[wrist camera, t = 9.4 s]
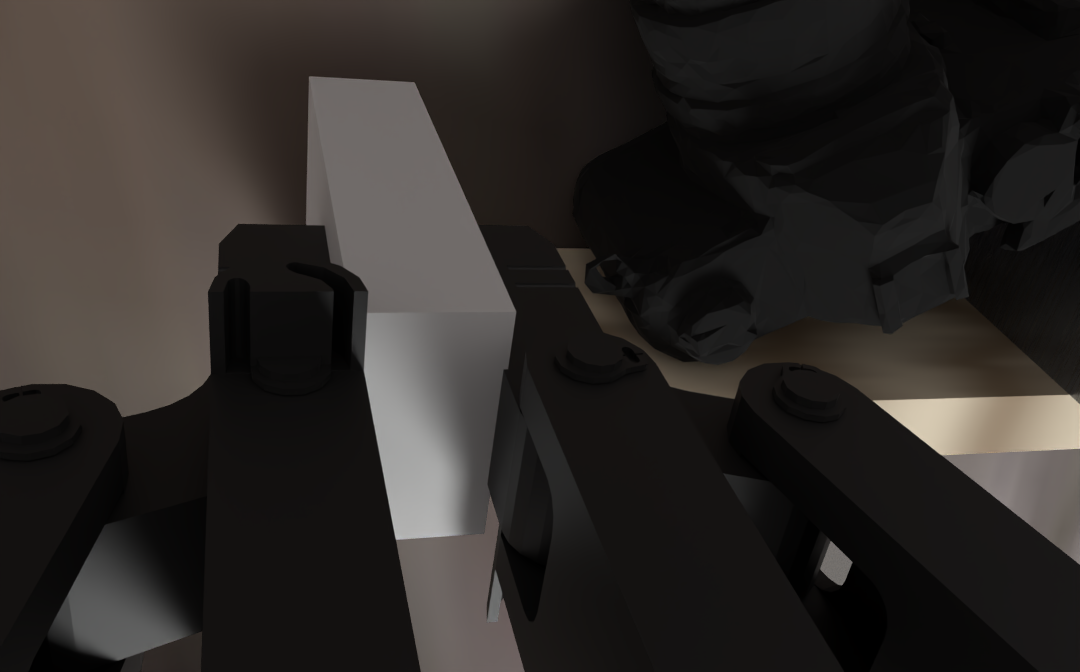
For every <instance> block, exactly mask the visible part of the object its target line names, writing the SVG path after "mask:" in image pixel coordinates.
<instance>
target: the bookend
mask: <svg viewBox="0 0 1080 672" xmlns="http://www.w3.org/2000/svg"><path fill="white" fill-rule="evenodd" d="M1007 225H1008V223H1001V224H999V225H997V226H995V227H993V228H991V229H989V230H987V231H983V232H979V233H975V234H973V235H972V236H971V237H970V238H969V246H970V250H969V253H968V256H967V259H966V262H965V265H964V270H965V275H966V281H967V287H968V293H969V297H967V298H965V299H966V300H967V301H968V302H969V303H970V304H971V305H973V306H974V307H975V308H976V309H977V310H978V311H979V312H980V313H981V314H982V315H983V316H984V317H986V318H987V319H988V320H989V321H990V322H991V323H992V324H993V325H994V326H995V327H996V328H997V329H999V330H1000V331H1001V332H1002V333H1003V334H1004V335H1005V336H1006V337H1007V338H1008V339H1009V340H1011V341H1012V342H1013V343H1014V344H1015V345H1016V346H1017V347H1018V348H1019V349H1020V350H1021V351H1022V352H1024V353H1025V354H1026V355H1027V356H1028V357H1029V358H1030V359H1031V360H1032V361H1033V362H1034V363H1036V364H1037V365H1038V366H1039V367H1040V368H1041V369H1042V370H1043V371H1044V372H1045V373H1046V374H1047V375H1049V376H1050V377H1051V378H1052V379H1053V380H1054V381H1055V382H1056V383H1057V384H1058V385H1059V386H1060V387H1062V388H1063V389H1064V390H1065V391H1066V392H1067V393H1068V394H1069V395H1070V396H1071V397H1072V398H1074V399H1075V400H1076V401H1077V402H1078V403H1079V404H1080V220H1079V221H1078V222H1076V223H1074V224H1072V225H1071V226H1069V227H1067V228H1065V229H1063V230H1061V231H1059V232H1058V233H1056V234H1054V235H1052V236H1050V237H1048V238H1047V239H1045V240H1043V241H1041V242H1039V243H1037V244H1035V245H1033V246H1031V247H1028V248H1026V249H1024V250H1021V251H1011V250H1004V249H1002V248H999V247H1000V244H1001V241H1002V237H1003V235H1004V232H1005V230H1006V227H1007Z"/></svg>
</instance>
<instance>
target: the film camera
mask: <svg viewBox="0 0 1080 672" xmlns="http://www.w3.org/2000/svg"><path fill="white" fill-rule="evenodd" d="M630 4H631V11H632V14H633V17H634V19H635V22H636V24H637V27H638V30H639V32H640V35H641V37H642V40H643V42H644V44H645V46H646V48H647V50H648V52H649V55H650V58H651V61H652V63H653V71H652V77H653V81H654V84H655V88H656V91H657V93H658V95H659V97H660V99H661V101H662V103H663V105H664V107H665V108H666V110H667V120H668V122H666V123H665V124H663V125H661V126H659V127H657V128H655V129H653V130H651V131H649V132H647V133H645V134H643V135H642V136H640V137H638V138H636V139H634V140H632V141H630V142H628V143H626V144H624V145H622V146H620V147H617V148H615V149H613V150H611V151H608V152H606V153H604V154H602V155H600V156H598V157H597V158H595V159H594V160H592V161H591V162H590V163H588V164H587V165H585V166H584V168H583V169H582V171H581V173H580V175H579V177H578V179H577V182H576V187H575V192H574V198H573V205H574V208H573V216H574V218H575V221H576V223H577V225H578V227H579V230H580V232H581V234H582V236H583V238H584V239H585V241H586V243H587V245H588V246H589V248H590V250H591V251H592V253H593V254H594V256H595V257H596V259H595V260H593V261H591V262H589V263H587V264H586V270H585V282H584V283H585V285H586V286H587V287H588V288H589V289H590V291H591V292H592V293H596V294H606V295H615V296H616V297H617V299H618V301H619V302H620V304H621V305H622V307H623V309H624V311H625V313H626V315H627V317H628V319H629V321H630V322H631V324H632V325H633V327H634V328H635V329H636V331H637V332H638V334H639V335H640V336H641V337H642V338H643V339H644V340H645V341H646V342H647V343H648V344H650V345H651V346H652V347H653V348H654V349H656V350H658V351H660V352H662V353H664V354H666V355H669V356H671V357H673V358H675V359H678V360H680V361H682V362H698V361H699V362H702V363H707V364H714V365H720V364H724V363H728V362H731V361H734V360H735V359H736V358H738V357H739V356H740V355H742V354H743V353H744V352H745V351H746V350H747V349H748V347H749V346H750V345H751V343H752V342H753V340H755V339H757V338H759V337H762V336H764V335H766V334H768V333H770V332H773V331H775V330H778V329H780V328H782V327H785V326H787V325H789V324H792V323H794V322H796V321H798V320H801V319H803V318H805V317H808V316H809V317H812V318H815V319H818V320H821V321H827V322H833V323H857V324H863V325H872V326H882V331H883V333H886V334H893V333H894V332H895V331H896V330H898V329H899V328H900V327H902V326H903V325H902V323H904V322H906V321H908V320H910V319H911V318H913V317H915V316H918V315H920V314H922V313H924V312H926V311H928V310H930V309H932V308H935V307H937V306H939V305H941V304H943V303H945V302H947V301H949V300H951V299H953V298H956V300H959V299H963V298H967V297H969V293H968V287H967V281H966V275H965V270H964V265H965V262H966V259H967V256H968V253H969V250H970V246H969V238H970V237H971V236H972V235H973V234H975V233H979V232H983V231H987V230H989V229H991V228H993V227H995V226H997V225H999V224H1001V223H1008V225H1007V227H1006V230H1005V232H1004V235H1003V237H1002V241H1001V244H1000V247H999V248H1002V249H1004V250H1011V251H1021V250H1024V249H1026V248H1028V247H1031V246H1033V245H1035V244H1037V243H1039V242H1041V241H1043V240H1045V239H1047V238H1048V237H1050V236H1052V235H1054V234H1056V233H1058V232H1059V231H1061V230H1063V229H1065V228H1067V227H1069V226H1071V225H1072V224H1074V223H1076V222H1078V221H1079V220H1080V0H630ZM599 265H600V267H601V269H602V271H603V273H604V275H605V277H603V276H602V275H601V274H600V273H599V271H598V270H597V267H598V266H599Z"/></svg>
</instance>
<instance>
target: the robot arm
mask: <svg viewBox="0 0 1080 672" xmlns="http://www.w3.org/2000/svg"><path fill="white" fill-rule="evenodd" d="M575 284H576V283H575V281H574V279H573V277H572V276H571V274H570V272H569V270H566V265H565V263H564V262H563V260H562V258H561V256H560V254H559V253H558V251H557V249H556V247H555V246H554V244H552V243H551V242H550V241H548V240H547V239H545V238H544V237H543V236H541V235H540V234H538V233H537V232H536V231H534V230H533V229H531V228H530V227H529V226H503V225H478V224H477V222H476V220H475V218H474V215H473V213H472V211H471V209H470V206H469V204H468V202H467V200H466V197H465V195H464V193H463V191H462V188H461V186H460V184H459V181H458V179H457V177H456V175H455V172H454V170H453V168H452V166H451V163H450V161H449V159H448V157H447V154H446V152H445V150H444V148H443V145H442V143H441V141H440V139H439V136H438V134H437V132H436V130H435V127H434V125H433V123H432V121H431V118H430V116H429V114H428V112H427V109H426V107H425V105H424V103H423V100H422V98H421V96H420V94H419V91H418V89H417V87H416V85H415V82H400V81H383V80H365V79H348V78H331V77H313V76H309V100H308V151H307V201H306V225H268V224H238V225H237V226H236V227H235V228H234V229H233V230H232V231H231V232H230V233H229V234H228V235H227V236H226V237H225V238H224V239H223V240H222V241H221V242H220V243H219V263H218V275H217V276H216V277H215V278H214V280H213V282H212V284H211V287H210V289H209V291H208V303H209V331H210V358H211V375H210V376H209V377H208V379H207V380H206V381H205V383H204V384H203V385H202V386H201V387H199V388H198V389H197V390H196V391H194V392H193V393H192V394H190V395H189V396H187V397H185V398H183V399H181V400H179V401H177V402H175V403H173V404H171V405H168V406H165V407H162V408H158V409H155V410H152V411H148V412H145V413H140V414H136V415H132V416H127V417H123V418H122V416H121V414H120V413H119V411H118V409H117V407H116V405H115V403H113V402H112V401H110V400H109V399H107V398H105V397H104V396H102V395H100V394H99V393H97V392H96V391H93V390H89V389H84V388H80V387H76V386H71V385H67V384H31V385H26V386H21V387H14V388H10V389H6V390H1V391H0V672H140V671H141V668H142V661H143V655H144V651H147V650H150V649H153V648H156V647H158V646H161V645H164V644H167V643H170V642H173V641H175V640H178V639H181V638H184V637H187V636H190V635H193V634H195V633H198V632H201V631H202V659H201V672H421V671H420V666H419V660H418V655H417V650H416V645H415V639H414V634H413V629H412V623H411V618H410V613H409V607H408V602H407V597H406V591H405V586H404V581H403V576H402V570H401V565H400V560H399V554H398V549H397V544H396V540H399V539H414V538H428V537H442V536H456V535H471V534H484V532H485V525H486V518H487V511H488V504H489V497H490V495H491V498H492V501H493V504H494V508H495V511H496V514H497V517H498V520H499V530H498V536H497V543H496V549H495V556H494V562H493V569H492V575H491V582H490V588H489V595H488V601H487V622H497V621H498V615H499V609H500V602H501V600H502V599H503V598H504V601H505V605H506V608H507V611H508V615H509V618H510V622H511V625H512V629H513V632H514V636H515V639H516V643H517V646H518V650H519V653H520V657H521V660H522V664H523V667H524V671H525V672H1080V565H1079V564H1078V563H1077V562H1076V561H1074V560H1073V559H1072V558H1071V557H1069V556H1068V555H1067V554H1065V553H1064V552H1063V551H1062V550H1060V549H1059V548H1058V547H1057V546H1055V545H1054V544H1053V543H1052V542H1050V541H1049V540H1048V539H1047V538H1045V537H1044V536H1043V535H1041V534H1040V533H1039V532H1038V531H1036V530H1035V529H1034V528H1033V527H1031V526H1030V525H1029V524H1028V523H1026V522H1025V521H1024V520H1022V519H1021V518H1020V517H1019V516H1017V515H1016V514H1015V513H1014V512H1012V511H1011V510H1010V509H1009V508H1007V507H1006V506H1005V505H1004V504H1002V503H1001V502H1000V501H998V500H997V499H996V498H995V497H993V496H992V495H991V494H990V493H988V492H987V491H986V490H985V489H983V488H982V487H981V486H980V485H978V484H977V483H976V482H974V481H973V480H972V479H971V478H969V477H968V476H967V475H966V474H964V473H963V472H962V471H961V470H959V469H958V468H957V467H956V466H954V465H953V464H952V463H950V462H949V461H948V460H947V459H945V458H944V457H943V456H942V455H940V454H939V453H938V452H937V451H935V450H934V449H933V448H932V447H930V446H929V445H928V444H926V443H925V442H924V441H923V440H921V439H920V438H919V437H918V436H916V435H915V434H914V433H913V432H911V431H910V430H909V429H908V428H906V427H905V426H904V425H902V424H901V423H900V422H899V421H897V420H896V419H895V418H894V417H892V416H891V415H890V414H889V413H887V412H886V411H885V410H884V409H882V408H881V407H880V406H878V405H877V404H876V403H875V402H873V401H872V400H871V399H870V398H868V397H867V396H866V395H865V394H863V393H862V392H861V391H860V390H858V389H857V388H855V387H854V386H852V385H850V384H849V383H847V382H846V381H844V380H842V379H841V378H839V377H837V376H836V375H833V374H830V373H828V372H825V371H822V370H820V369H819V368H817V367H815V366H811V365H806V364H802V365H800V364H799V363H791V362H782V363H764V364H761V365H759V366H756V367H754V368H751V369H749V370H747V372H746V373H745V375H744V376H743V377H742V379H741V380H740V382H739V386H738V389H737V393H736V396H735V399H732V398H726V397H720V396H714V395H708V394H703V393H697V392H691V391H686V390H682V389H678V388H673V387H670V386H669V384H668V382H667V381H666V379H665V377H664V376H663V374H662V372H661V371H660V369H659V367H658V366H657V364H656V363H655V362H654V361H653V360H652V359H651V358H650V356H649V355H648V354H647V353H646V352H645V351H644V350H643V349H641V348H639V347H637V346H636V345H634V344H632V343H630V342H629V341H627V340H625V339H623V338H620V337H617V336H613V335H610V334H607V333H604V332H603V331H602V329H601V327H600V325H599V324H598V322H597V320H596V318H595V316H594V315H593V313H592V311H591V309H590V308H589V306H588V304H587V302H586V301H585V299H584V297H583V295H582V293H581V292H580V290H579V288H578V287H575ZM830 541H832V542H833V543H834V544H835V545H836V546H837V547H838V548H839V549H840V550H841V551H842V552H843V553H844V554H845V555H846V556H847V557H848V558H849V559H850V560H851V561H852V562H853V563H852V565H851V568H850V570H849V573H848V575H847V578H846V580H845V582H844V584H843V585H842V586H841V585H837V584H836V583H834V582H833V581H832V580H830V579H829V578H828V577H827V576H826V575H825V574H824V573H823V572H822V571H821V570H820V567H821V565H822V562H823V559H824V557H825V554H826V551H827V549H828V546H829V544H830Z"/></svg>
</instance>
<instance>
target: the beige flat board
mask: <svg viewBox="0 0 1080 672" xmlns="http://www.w3.org/2000/svg"><path fill="white" fill-rule="evenodd" d="M556 249H557V251H558V253H559V254H560V256H561V258H562V260H563V262H564V263H565V265H566V270H569V272H570V274H571V276H572V277H573V279H574V281H575V283H576V284H575V287H578V288H579V290H580V292H581V293H582V295H583V297H584V299H585V301H586V302H587V304H588V306H589V308H590V309H591V311H592V313H593V315H594V316H595V318H596V320H597V322H598V324H599V325H600V327H601V329H602V331H603V332H604V333H607V334H610V335H613V336H617V337H620V338H623V339H625V340H627V341H629V342H630V343H632V344H634V345H636V346H637V347H639V348H641V349H643V350H644V351H645V352H646V353H647V354H648V355H649V356H650V358H651V359H652V360H653V361H654V362H655V363H656V364H657V366H658V367H659V369H660V371H661V372H662V374H663V376H664V377H665V379H666V381H667V382H668V384H669V386H670V387H673V388H678V389H682V390H686V391H691V392H697V393H703V394H708V395H714V396H720V397H726V398H732V399H735V396H736V393H737V389H738V386H739V382H740V380H741V379H742V377H743V376H744V375H745V373H746V372H747V370H749V369H751V368H754V367H756V366H759V365H761V364H764V363H782V362H791V363H799V364H800V365H802V364H806V365H811V366H815V367H817V368H819V369H820V370H822V371H825V372H828V373H830V374H833V375H836V376H837V377H839V378H841V379H842V380H844V381H846V382H847V383H849V384H850V385H852V386H854V387H855V388H857V389H858V390H860V391H861V392H862V393H863V394H865V395H866V396H867V397H868V398H870V399H871V400H872V401H873V402H875V403H876V404H877V405H878V406H880V407H881V408H882V409H884V410H885V411H886V412H887V413H889V414H890V415H891V416H892V417H894V418H895V419H896V420H897V421H899V422H900V423H901V424H902V425H904V426H905V427H906V428H908V429H909V430H910V431H911V432H913V433H914V434H915V435H916V436H918V437H919V438H920V439H921V440H923V441H924V442H925V443H926V444H928V445H929V446H930V447H932V448H933V449H934V450H935V451H937V452H938V453H939V454H940V455H956V454H977V453H998V452H1019V451H1040V450H1061V449H1080V404H1079V403H1078V402H1077V401H1076V400H1075V399H1074V398H1072V397H1071V396H1070V395H1069V394H1068V393H1067V392H1066V391H1065V390H1064V389H1063V388H1062V387H1060V386H1059V385H1058V384H1057V383H1056V382H1055V381H1054V380H1053V379H1052V378H1051V377H1050V376H1049V375H1047V374H1046V373H1045V372H1044V371H1043V370H1042V369H1041V368H1040V367H1039V366H1038V365H1037V364H1036V363H1034V362H1033V361H1032V360H1031V359H1030V358H1029V357H1028V356H1027V355H1026V354H1025V353H1024V352H1022V351H1021V350H1020V349H1019V348H1018V347H1017V346H1016V345H1015V344H1014V343H1013V342H1012V341H1011V340H1009V339H1008V338H1007V337H1006V336H1005V335H1004V334H1003V333H1002V332H1001V331H1000V330H999V329H997V328H996V327H995V326H994V325H993V324H992V323H991V322H990V321H989V320H988V319H987V318H986V317H984V316H983V315H982V314H981V313H980V312H979V311H978V310H977V309H976V308H975V307H974V306H973V305H971V304H970V303H969V302H968V301H967V300H966V299H965V298H963V299H959V300H956V298H953V299H951V300H949V301H947V302H945V303H943V304H941V305H939V306H937V307H935V308H932V309H930V310H928V311H926V312H924V313H922V314H920V315H918V316H915V317H913V318H911V319H910V320H908V321H906V322H904V323H902V325H903V326H902V327H900V328H899V329H898V330H896V331H895V332H894V333H893V334H886V333H883V331H882V326H872V325H863V324H857V323H833V322H827V321H821V320H818V319H815V318H812V317H809V316H808V317H805V318H803V319H801V320H798V321H796V322H794V323H792V324H789V325H787V326H785V327H782V328H780V329H778V330H775V331H773V332H770V333H768V334H766V335H764V336H762V337H759V338H757V339H755V340H753V342H752V343H751V345H750V346H749V347H748V349H747V350H746V351H745V352H744V353H743V354H742V355H740V356H739V357H738V358H736V359H735V360H734V361H731V362H728V363H724V364H720V365H714V364H707V363H702V362H699V361H698V362H682V361H680V360H678V359H675V358H673V357H671V356H669V355H666V354H664V353H662V352H660V351H658V350H656V349H654V348H653V347H652V346H651V345H650V344H648V343H647V342H646V341H645V340H644V339H643V338H642V337H641V336H640V335H639V334H638V332H637V331H636V329H635V328H634V327H633V325H632V324H631V322H630V321H629V319H628V317H627V315H626V313H625V311H624V309H623V307H622V305H621V304H620V302H619V301H618V299H617V297H616V296H615V295H606V294H596V293H592V292H591V291H590V289H589V288H588V287H587V286H586V285H585V283H584V282H585V270H586V264H587V263H589V262H591V261H593V260H595V259H596V257H595V256H594V254H593V253H592V251H591V250H590V249H584V248H556ZM597 270H598V271H599V273H600V274H601V275H602V276H603V277H605V275H604V273H603V271H602V269H601V267H600V265H599V266H598V267H597Z"/></svg>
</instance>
